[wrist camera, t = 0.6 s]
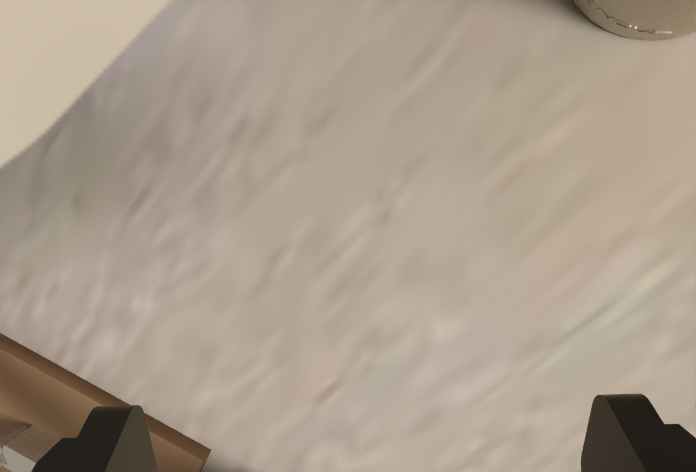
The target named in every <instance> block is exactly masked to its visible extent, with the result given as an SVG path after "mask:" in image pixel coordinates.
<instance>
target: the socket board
mask: <svg viewBox="0 0 696 472" xmlns="http://www.w3.org/2000/svg"><path fill="white" fill-rule="evenodd" d="M97 406H128V404H127V403H125V402H123V401H121V400H119V399H118V398H116V397H114V396H112V395H110V394H109V393H107V392H105V391H103V390H101V389H100V388H98V387H96V386H94V385H92V384H91V383H89V382H87V381H85V380H83V379H81V378H80V377H78V376H76V375H74V374H72V373H71V372H69V371H67V370H65V369H63V368H62V367H60V366H58V365H56V364H54V363H53V362H51V361H49V360H47V359H45V358H44V357H42V356H40V355H38V354H36V353H35V352H33V351H31V350H29V349H27V348H26V347H24V346H22V345H20V344H18V343H16V342H15V341H13V340H11V339H9V338H7V337H6V336H4V335H2V334H0V432H2V431H5V430H9V429H12V428H16V427H20V426H23V425H27V424H29V426H32V425H35V426H36V427H38V428H40V429H42V430H44V431H45V432H47V433H49V434H51V435H53V436H54V437H56V438H58V439H60V440H61V439H62V438H77V437H78V435H79V433H80V431H81V429H82V427H83V425H84V423H85V421H86V419H87V417H88V415H89V414H90V412H91V411H92V409H93V408H95V407H97ZM144 415H145V419H146V423H147V427H148V431H149V435H150V439H151V443H152V447H153V451H154V455H155V459H156V463H157V469H158V472H200V471H201V469H202V467H203V465H204V463H205V461H206V459H207V457H208V455H209V453H210V451H211V450H210V449H208V448H206V447H204V446H202V445H201V444H199V443H197V442H195V441H193V440H192V439H190V438H188V437H186V436H184V435H183V434H181V433H179V432H177V431H175V430H174V429H172V428H170V427H168V426H166V425H165V424H163V423H161V422H159V421H157V420H156V419H154V418H152V417H150V416H148V415H146V414H145V413H144ZM0 472H12V471H10V470H9V469H7V468H5V467H3V466H0Z"/></svg>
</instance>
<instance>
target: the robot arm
mask: <svg viewBox="0 0 696 472" xmlns="http://www.w3.org/2000/svg"><path fill="white" fill-rule="evenodd" d="M573 2H574V3H575V5H576V6H577V7H578V8H579V9H580V10H581V11H582V12H583V13H584V14H585V15H586V16H587V17H588V18H589V19H590V20H591V21H593V22H594V23H596V24H597V25H599V26H601V27H602V28H604V29H605V30H607V31H609V32H612V33H615V34H618V35H621V36H623V37H626V38H632V39H640V40H648V41H650V40H662V39H672V38H676V37H679V36H682V35H686V34H689V33H693V32H695V31H696V0H573ZM31 472H158V469H157V463H156V459H155V455H154V451H153V447H152V443H151V439H150V435H149V431H148V427H147V423H146V419H145V415H144V411H143V409H142V408H141V406H139V405H128V406H97V407H95V408H93V409H92V411H91V412H90V414H89V415H88V417H87V419H86V421H85V423H84V425H83V427H82V429H81V431H80V433H79V435H78V437H77V438H62V439H61V440H59V441H58V442H57V443H56V444H55V445H54V446H53V447H52V448H51V449H50V450H49V451H48V452H47V453H46V454H45V455H44V456H43V457H42V458H41V459H39V460H38V461H37V462H36V464H35V466H34V468H33V469H32V471H31ZM581 472H696V438H695V437H694V436H692V435H691V434H690V433H689V432H688V431H686V430H685V429H684V428H683V427H681V426H680V425H679V424H664V423H663V421H662V420H661V418H660V417H659V415H658V414H657V412H656V410H655V409H654V407H653V406H652V404H651V403H650V401H649V400H648V398H647V397H646V396H644V395H642V394H615V395H597V396H596V397H595V398H594V401H593V404H592V408H591V413H590V418H589V422H588V427H587V432H586V437H585V441H584V446H583V451H582V456H581Z"/></svg>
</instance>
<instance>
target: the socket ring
mask: <svg viewBox="0 0 696 472" xmlns="http://www.w3.org/2000/svg"><path fill="white" fill-rule="evenodd" d="M59 440H60V439H58V438H56V437H54V436H53V435H51V434H49V433H47V432H45V431H44V430H42V429H40V428H38V427H36V426H35V425H32V426H29V424H27V425H23V426H20V427H16V428H12V429H9V430H5V431H2V432H0V466H3V467H5V468H7V469H9V470H10V471H12V472H31V471H32V469H33V468H34V466H35V464H36V462H37V461H38V460H39V459H41V458H42V457H43V456H44V455H45V454H46V453H47V452H48V451H49V450H50V449H51V448H52V447H53V446H54V445H55V444H56V443H57V442H58V441H59Z"/></svg>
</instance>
